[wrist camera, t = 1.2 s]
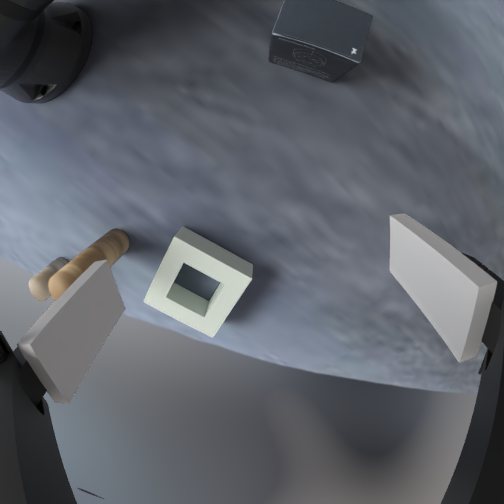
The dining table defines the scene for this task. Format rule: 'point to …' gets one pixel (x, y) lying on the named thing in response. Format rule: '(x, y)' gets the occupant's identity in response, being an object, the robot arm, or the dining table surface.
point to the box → (319, 37)
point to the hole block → (210, 263)
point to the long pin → (89, 260)
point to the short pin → (45, 279)
